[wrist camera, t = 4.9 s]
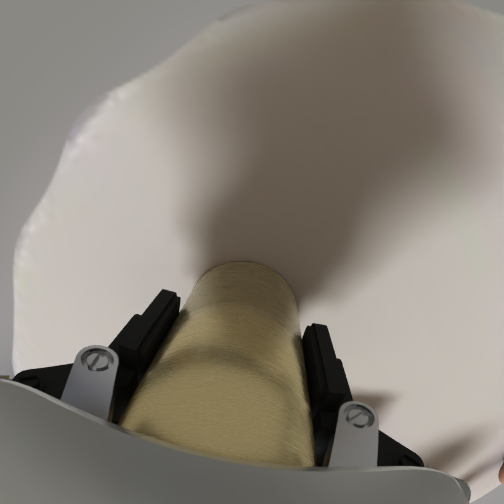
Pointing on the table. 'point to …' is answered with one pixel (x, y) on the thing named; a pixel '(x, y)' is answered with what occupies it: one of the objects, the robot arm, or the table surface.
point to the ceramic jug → (501, 474)
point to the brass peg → (231, 372)
